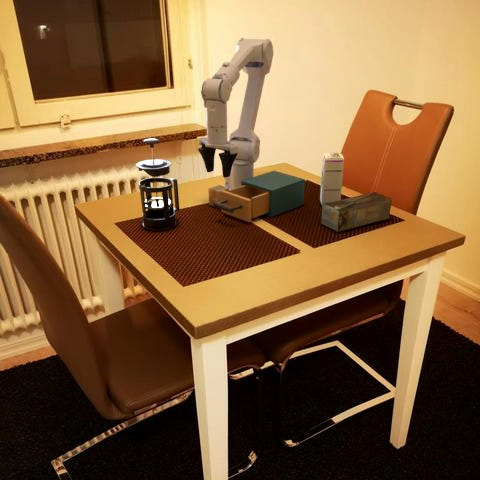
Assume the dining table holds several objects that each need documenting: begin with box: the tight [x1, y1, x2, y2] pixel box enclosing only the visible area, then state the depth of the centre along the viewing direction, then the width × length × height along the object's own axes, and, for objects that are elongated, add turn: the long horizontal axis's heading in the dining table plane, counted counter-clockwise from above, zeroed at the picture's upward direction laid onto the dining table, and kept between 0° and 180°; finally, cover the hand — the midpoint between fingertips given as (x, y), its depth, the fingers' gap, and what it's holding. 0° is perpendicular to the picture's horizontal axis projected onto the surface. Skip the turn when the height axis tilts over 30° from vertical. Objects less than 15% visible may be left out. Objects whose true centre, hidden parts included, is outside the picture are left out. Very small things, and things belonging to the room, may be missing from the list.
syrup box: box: [319, 152, 345, 206], centre depth 148 cm, size 6×6×14 cm
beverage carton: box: [320, 191, 393, 233], centre depth 137 cm, size 8×19×7 cm, turn 119°
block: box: [208, 184, 229, 209], centre depth 149 cm, size 4×4×5 cm
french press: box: [136, 138, 180, 232], centre depth 132 cm, size 12×9×23 cm
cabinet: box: [241, 170, 306, 218], centre depth 148 cm, size 14×12×8 cm
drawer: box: [213, 185, 270, 223], centre depth 141 cm, size 18×11×6 cm, turn 134°
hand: (218, 174), depth 146 cm, fingers open, 7 cm apart
